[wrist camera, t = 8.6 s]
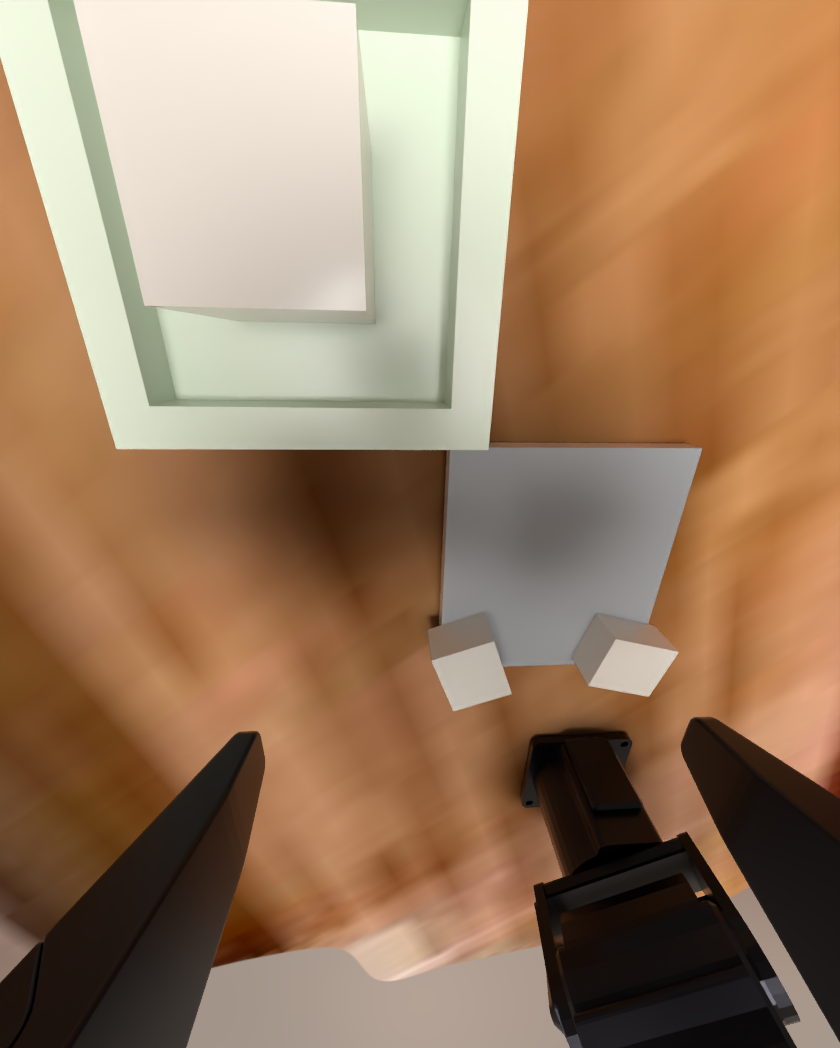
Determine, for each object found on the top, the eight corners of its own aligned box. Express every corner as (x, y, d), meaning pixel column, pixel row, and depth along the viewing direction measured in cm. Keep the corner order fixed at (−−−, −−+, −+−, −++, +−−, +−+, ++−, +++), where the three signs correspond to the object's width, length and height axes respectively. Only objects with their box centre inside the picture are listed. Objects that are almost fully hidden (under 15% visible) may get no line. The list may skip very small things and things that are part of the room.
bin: (476, 436, 17) (488, 450, 15) (154, 434, 16) (116, 449, 14) (509, -16, 12) (537, -102, 10) (30, -55, 11) (-64, -160, 9)
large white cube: (375, 324, 15) (366, 310, 9) (238, 321, 14) (144, 305, 9) (371, 150, 13) (355, 3, 7) (211, 142, 12) (68, -19, 7)
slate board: (630, 658, 23) (664, 702, 20) (424, 665, 22) (429, 712, 20) (694, 443, 18) (752, 461, 15) (431, 442, 17) (438, 461, 14)
